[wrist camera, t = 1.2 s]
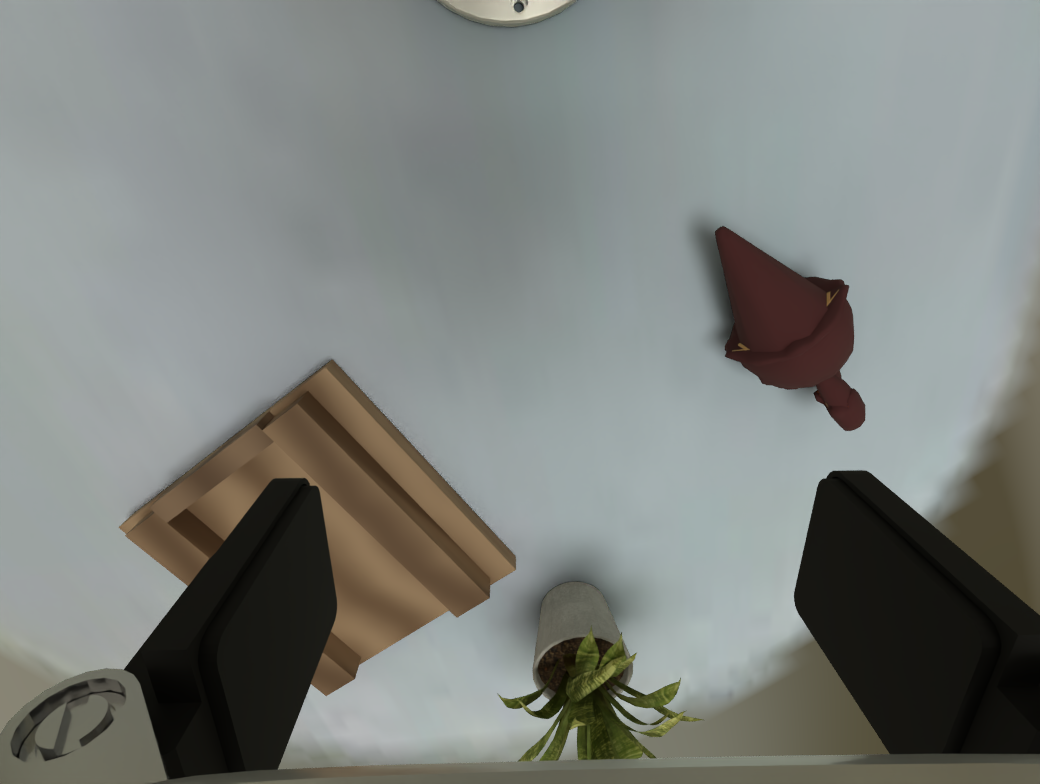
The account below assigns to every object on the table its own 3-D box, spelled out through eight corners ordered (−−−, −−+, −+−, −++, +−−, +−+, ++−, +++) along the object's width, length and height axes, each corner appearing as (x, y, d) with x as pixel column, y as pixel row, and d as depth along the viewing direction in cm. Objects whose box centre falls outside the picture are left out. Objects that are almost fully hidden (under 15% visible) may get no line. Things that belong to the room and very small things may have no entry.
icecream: (665, 297, 29) (802, 469, 35) (805, 205, 26) (932, 413, 31) (655, 246, 35) (774, 402, 40) (768, 165, 31) (881, 347, 37)
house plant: (708, 619, 46) (807, 846, 31) (576, 699, 49) (605, 939, 34) (603, 508, 41) (657, 709, 26) (465, 604, 45) (443, 832, 30)
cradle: (332, 359, 37) (315, 379, 33) (515, 556, 43) (516, 588, 40) (131, 515, 41) (99, 545, 38) (325, 672, 47) (312, 710, 44)
